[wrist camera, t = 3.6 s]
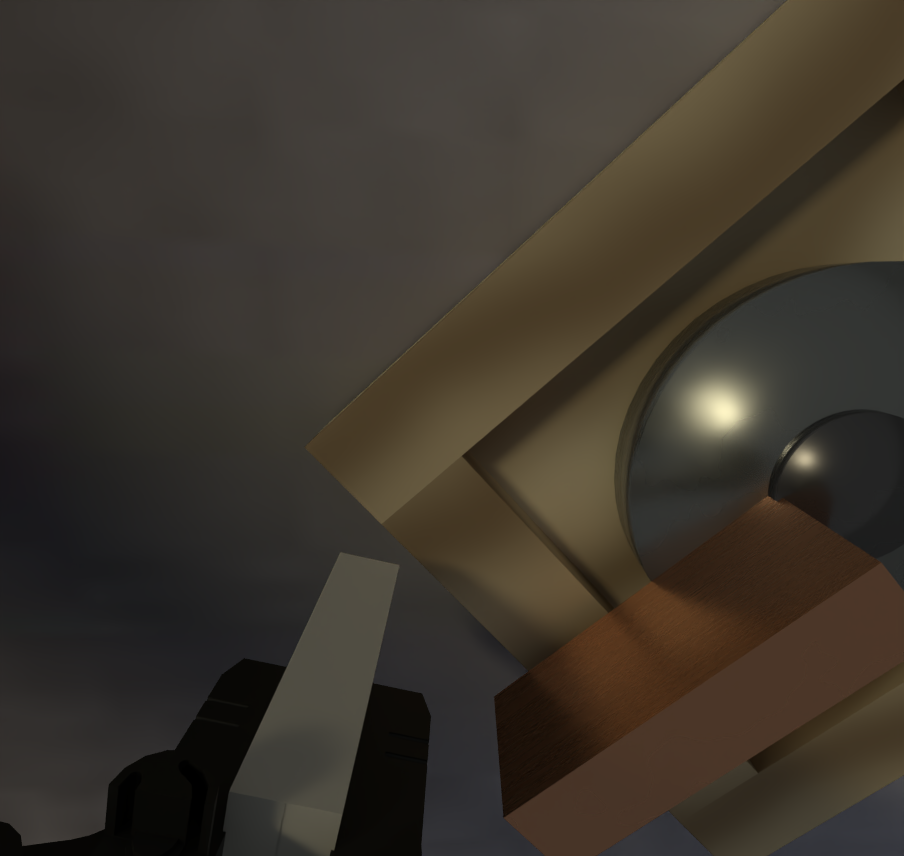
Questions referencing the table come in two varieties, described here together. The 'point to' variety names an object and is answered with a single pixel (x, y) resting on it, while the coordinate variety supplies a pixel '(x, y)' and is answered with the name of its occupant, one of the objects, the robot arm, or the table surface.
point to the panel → (644, 373)
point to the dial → (729, 560)
